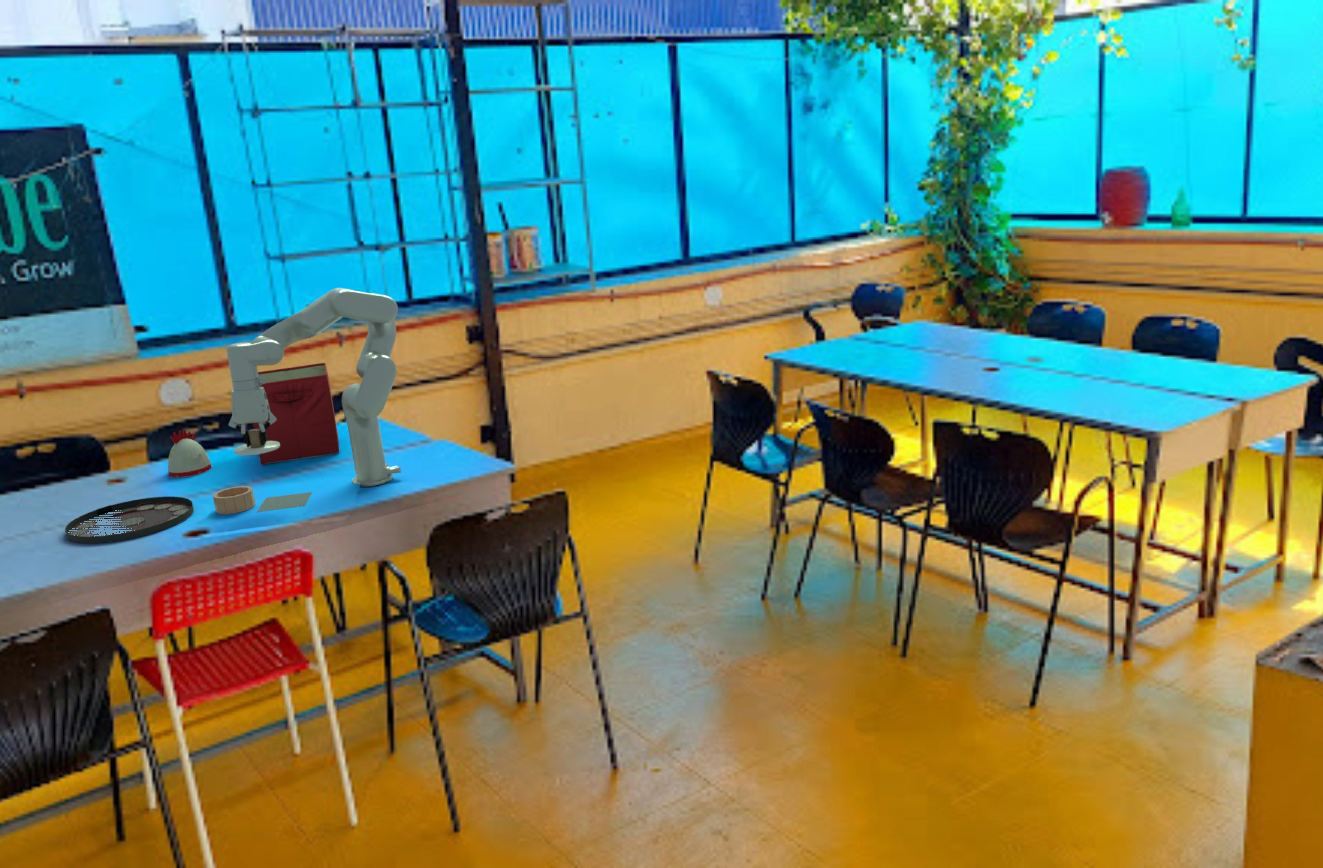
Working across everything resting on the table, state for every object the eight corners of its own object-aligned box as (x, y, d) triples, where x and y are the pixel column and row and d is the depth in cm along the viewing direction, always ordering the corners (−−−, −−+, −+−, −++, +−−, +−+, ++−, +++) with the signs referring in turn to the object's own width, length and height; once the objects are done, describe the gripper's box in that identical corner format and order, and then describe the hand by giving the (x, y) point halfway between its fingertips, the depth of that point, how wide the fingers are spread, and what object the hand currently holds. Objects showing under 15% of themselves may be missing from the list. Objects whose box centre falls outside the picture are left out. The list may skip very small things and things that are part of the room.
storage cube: (262, 447, 407) (247, 370, 400) (338, 435, 414) (325, 360, 407) (259, 469, 377) (243, 387, 370) (341, 456, 385) (327, 375, 377)
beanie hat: (163, 473, 384) (154, 431, 380) (203, 463, 393) (194, 422, 389) (177, 479, 374) (168, 437, 370) (217, 469, 382) (209, 427, 378)
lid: (283, 441, 336) (280, 423, 334) (275, 452, 323) (272, 433, 322) (239, 446, 334) (236, 427, 333) (230, 457, 321) (226, 438, 320)
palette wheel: (160, 498, 355) (158, 490, 354) (215, 513, 333) (214, 505, 332) (47, 533, 329) (45, 524, 329) (99, 552, 307) (97, 543, 307)
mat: (312, 494, 342) (312, 491, 341) (305, 508, 328) (304, 505, 328) (266, 500, 340) (266, 497, 340) (257, 515, 327) (256, 511, 326)
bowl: (259, 502, 338) (255, 484, 337) (251, 514, 328) (247, 495, 326) (222, 507, 337) (218, 489, 336) (213, 519, 327) (209, 500, 325)
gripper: (277, 379, 328) (287, 439, 333) (220, 385, 326) (230, 445, 331) (273, 384, 321) (283, 445, 326) (214, 390, 319) (224, 451, 324)
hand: (256, 444), depth 328 cm, fingers closed on lid, 3 cm apart
